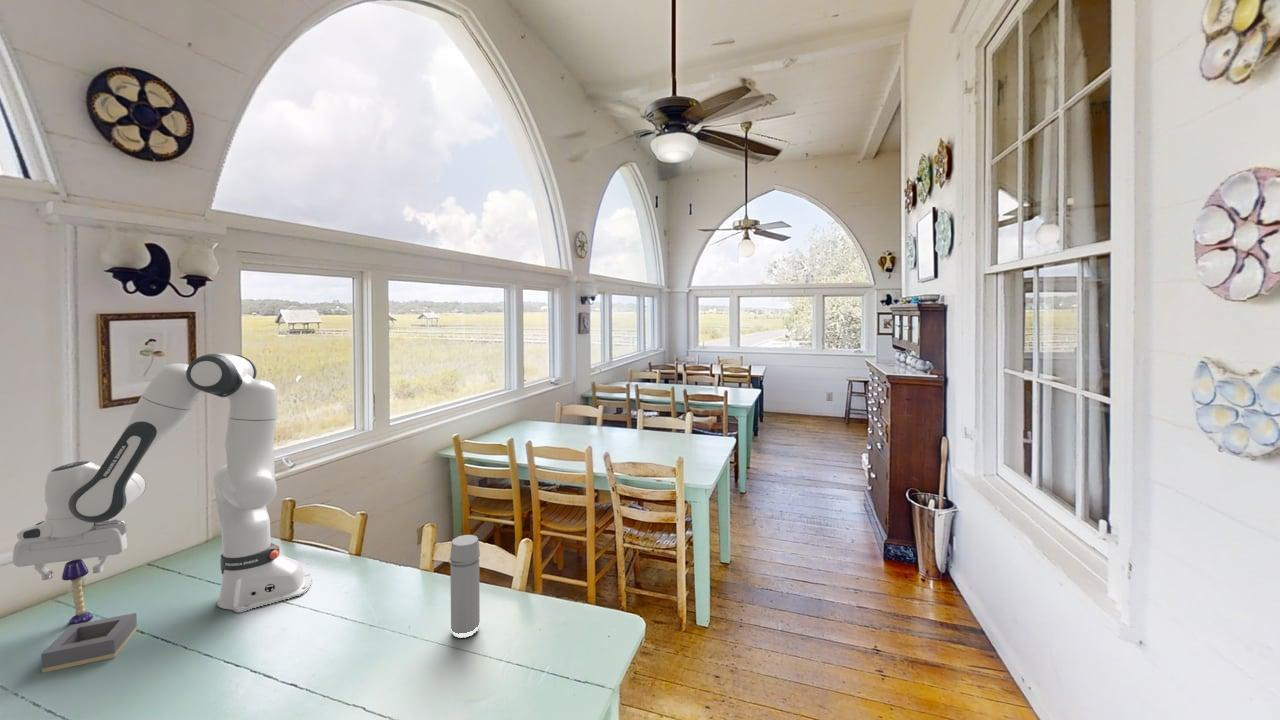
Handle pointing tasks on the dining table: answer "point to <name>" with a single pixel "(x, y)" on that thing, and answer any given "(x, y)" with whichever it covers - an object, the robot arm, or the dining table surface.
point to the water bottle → (464, 583)
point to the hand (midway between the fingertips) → (73, 575)
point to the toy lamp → (77, 589)
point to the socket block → (89, 642)
